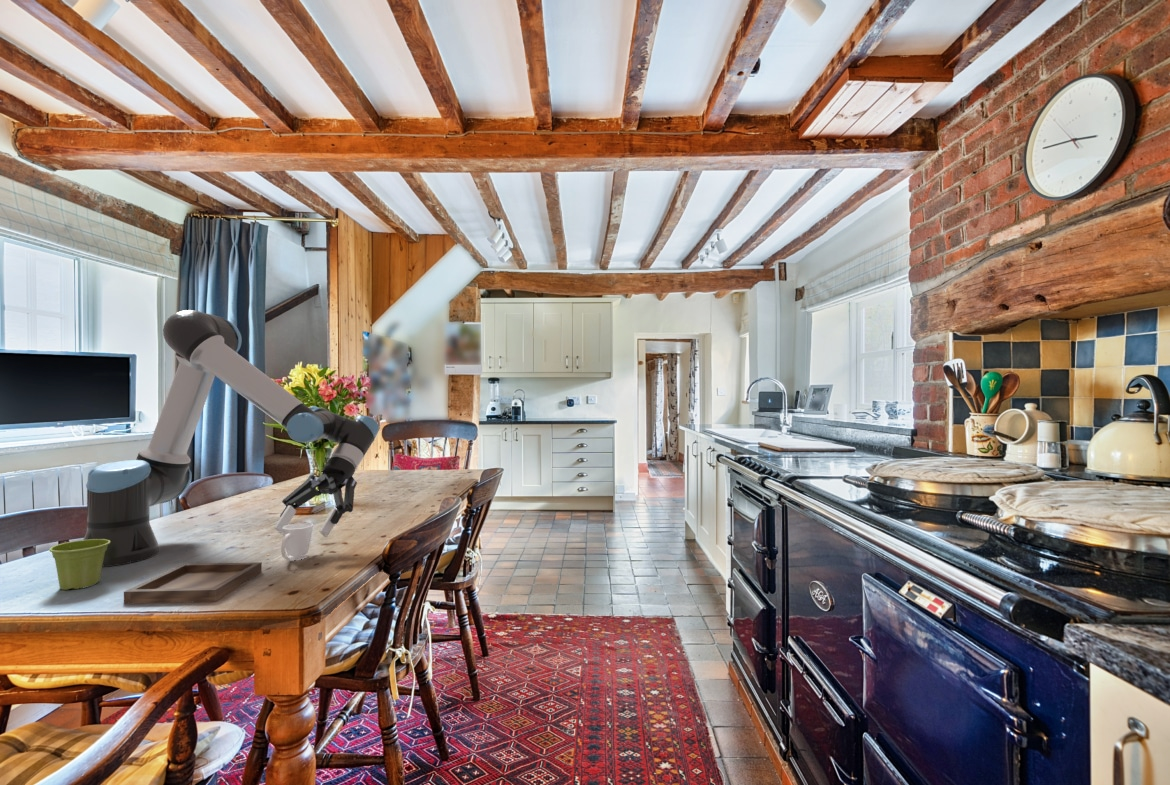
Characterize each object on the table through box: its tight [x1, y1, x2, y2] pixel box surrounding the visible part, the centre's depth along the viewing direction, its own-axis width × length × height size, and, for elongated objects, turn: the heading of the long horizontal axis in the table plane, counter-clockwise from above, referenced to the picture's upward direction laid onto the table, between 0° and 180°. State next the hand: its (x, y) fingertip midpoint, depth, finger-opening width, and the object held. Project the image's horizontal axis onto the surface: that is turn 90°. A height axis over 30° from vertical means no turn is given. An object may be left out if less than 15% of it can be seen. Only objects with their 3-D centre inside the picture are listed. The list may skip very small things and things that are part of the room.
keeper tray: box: [123, 561, 263, 605], centre depth 112 cm, size 17×17×2 cm
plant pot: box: [48, 539, 110, 591], centre depth 113 cm, size 9×9×9 cm
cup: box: [280, 522, 314, 562], centre depth 130 cm, size 7×10×8 cm
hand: (300, 532), depth 131 cm, fingers open, 13 cm apart
